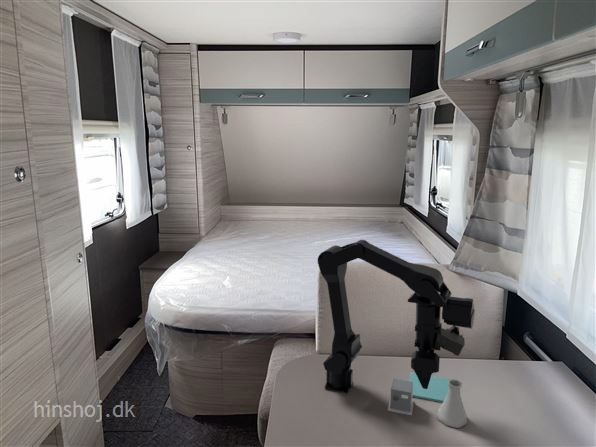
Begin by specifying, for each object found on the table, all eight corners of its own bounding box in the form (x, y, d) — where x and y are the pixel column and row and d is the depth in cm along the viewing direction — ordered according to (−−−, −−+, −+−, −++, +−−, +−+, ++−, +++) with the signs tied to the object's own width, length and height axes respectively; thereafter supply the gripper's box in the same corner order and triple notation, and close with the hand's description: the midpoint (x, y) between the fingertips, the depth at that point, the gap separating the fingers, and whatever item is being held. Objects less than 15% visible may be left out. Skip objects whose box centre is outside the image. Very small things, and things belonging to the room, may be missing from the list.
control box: (387, 410, 113) (388, 389, 112) (390, 397, 119) (391, 377, 117) (411, 415, 111) (413, 394, 110) (413, 401, 117) (415, 381, 115)
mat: (406, 395, 119) (406, 393, 119) (409, 374, 129) (410, 372, 129) (449, 403, 116) (449, 401, 116) (449, 380, 126) (449, 379, 126)
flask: (471, 417, 110) (475, 382, 108) (460, 432, 105) (463, 395, 103) (443, 405, 115) (446, 371, 113) (431, 419, 110) (434, 383, 107)
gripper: (463, 341, 97) (460, 405, 100) (462, 308, 114) (460, 364, 117) (411, 335, 100) (410, 397, 103) (417, 304, 117) (416, 358, 121)
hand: (426, 378), depth 111 cm, fingers open, 9 cm apart
